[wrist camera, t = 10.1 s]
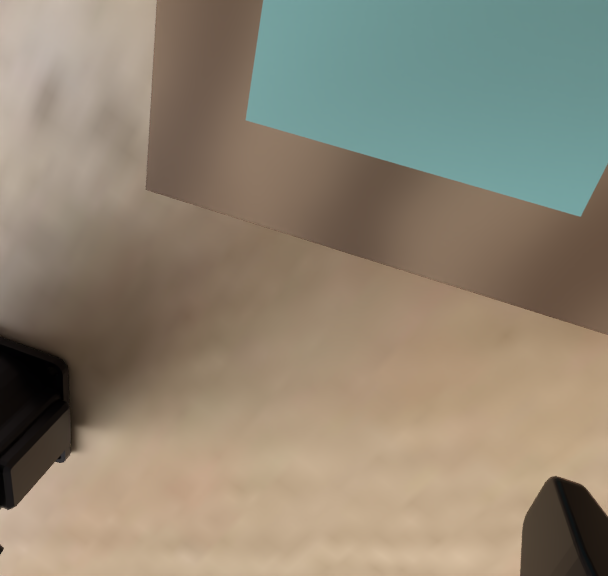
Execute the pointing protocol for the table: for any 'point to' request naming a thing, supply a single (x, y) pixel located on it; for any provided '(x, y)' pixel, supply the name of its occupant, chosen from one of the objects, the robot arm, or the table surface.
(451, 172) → the teal cube
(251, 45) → the walnut board
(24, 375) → the robot arm
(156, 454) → the table surface
